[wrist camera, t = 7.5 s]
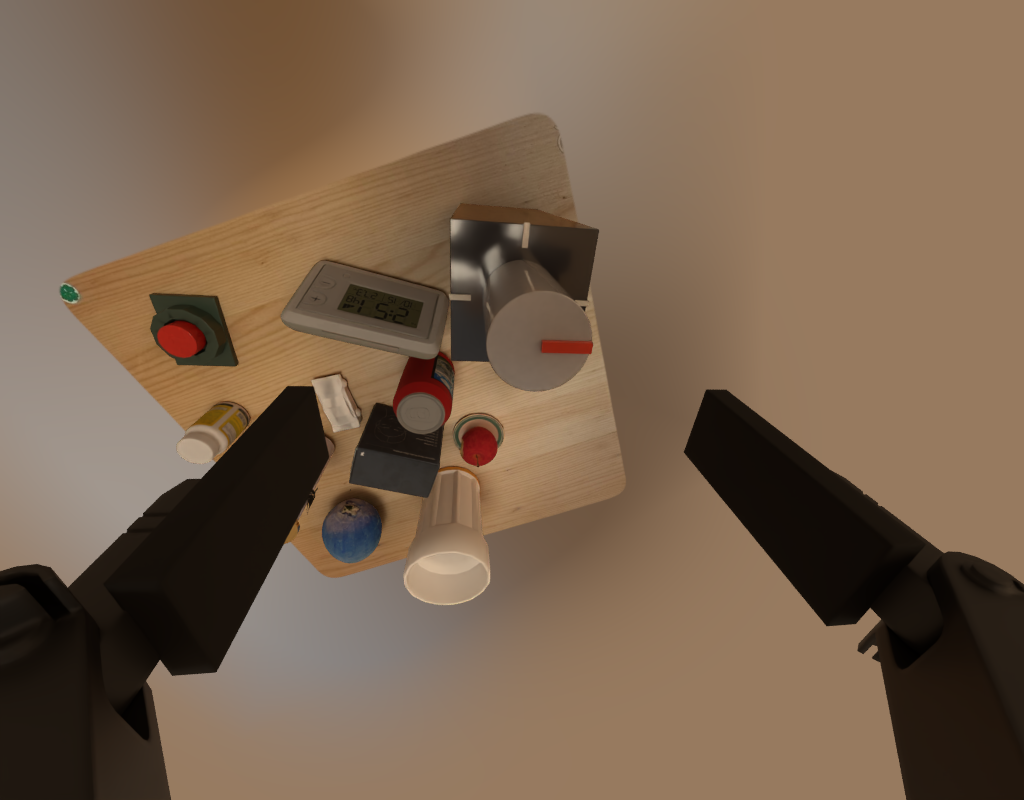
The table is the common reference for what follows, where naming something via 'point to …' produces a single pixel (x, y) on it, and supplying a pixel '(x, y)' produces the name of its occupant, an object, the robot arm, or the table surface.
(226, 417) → the supplement bottle
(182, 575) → the robot arm
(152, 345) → the table surface
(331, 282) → the digital clock
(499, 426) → the apple
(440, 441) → the box
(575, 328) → the hob knob
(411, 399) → the beverage can
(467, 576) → the cup
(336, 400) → the toy car
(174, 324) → the button
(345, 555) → the blue plum
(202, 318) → the button box
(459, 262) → the pillar
